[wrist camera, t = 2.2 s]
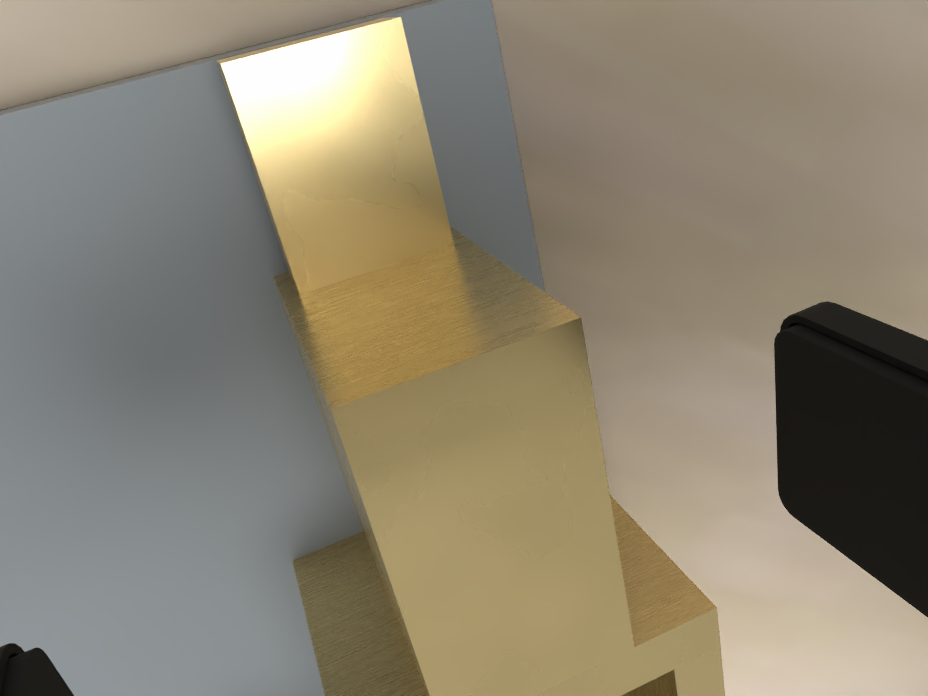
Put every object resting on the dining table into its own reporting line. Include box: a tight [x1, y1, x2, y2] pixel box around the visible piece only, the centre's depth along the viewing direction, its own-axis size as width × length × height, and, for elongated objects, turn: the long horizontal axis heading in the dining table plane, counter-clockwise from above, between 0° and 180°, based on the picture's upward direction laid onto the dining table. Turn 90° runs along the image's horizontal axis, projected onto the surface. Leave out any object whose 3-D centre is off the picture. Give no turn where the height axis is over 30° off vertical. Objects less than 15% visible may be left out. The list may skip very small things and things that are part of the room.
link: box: [217, 17, 725, 696], centre depth 15 cm, size 18×7×6 cm, turn 13°
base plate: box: [0, 0, 545, 696], centre depth 17 cm, size 20×19×2 cm
